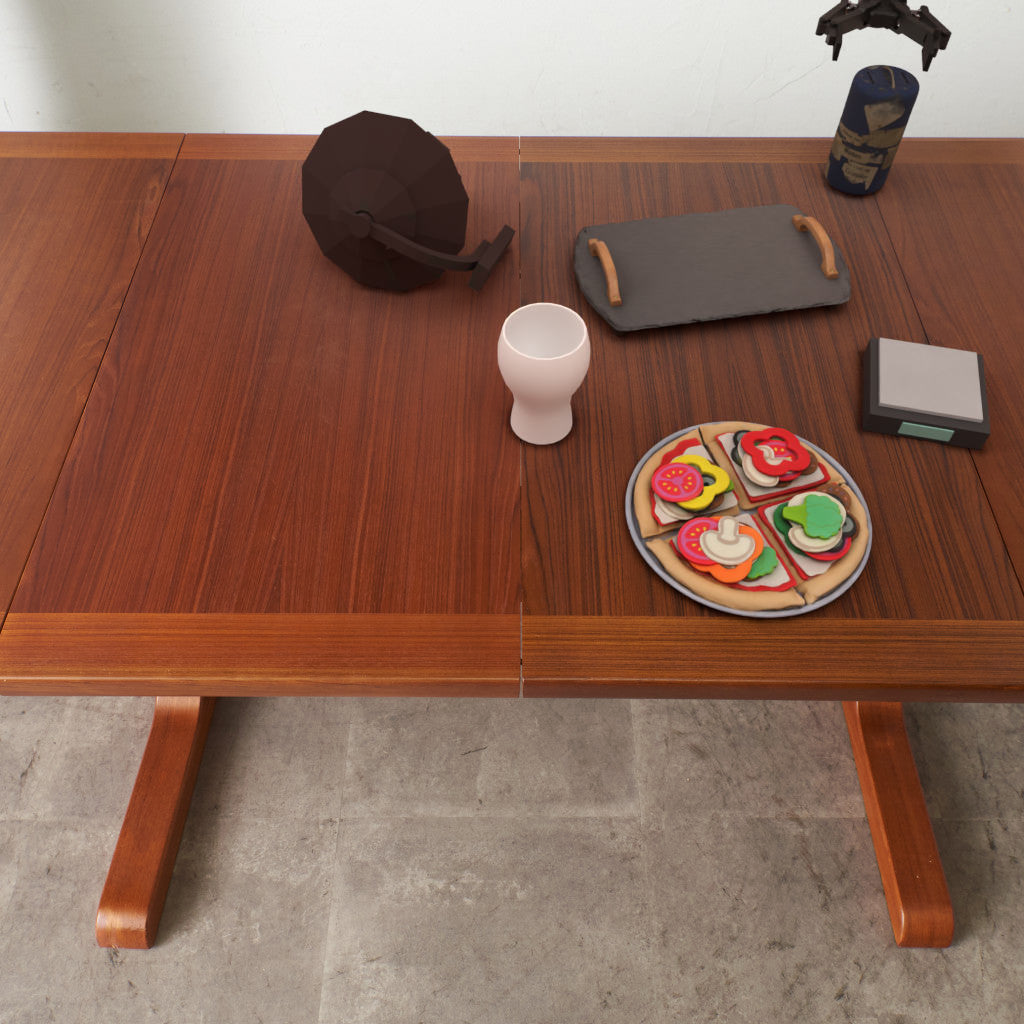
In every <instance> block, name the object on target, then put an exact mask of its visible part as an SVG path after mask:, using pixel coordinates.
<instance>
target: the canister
mask: <svg viewBox="0 0 1024 1024" xmlns="http://www.w3.org/2000/svg"><path fill="white" fill-rule="evenodd" d="M919 92H920V83H919V80H918V78H917V77H916V76H915V75H914V74H913V73H911V72H910V71H908V70H906V69H903V68H901V67H897V66H894V65H887V64H873V65H867V66H865V67H863V68H861V69H860V70H858V71H857V72H856V73H855V75H854V76H853V78H852V80H851V84H850V87H849V90H848V94H847V97H846V100H845V103H844V107H843V109H842V112H841V116H840V119H839V122H838V125H837V128H836V131H835V134H834V136H833V140H832V143H831V147H830V151H829V154H828V157H827V161H826V165H825V168H824V178H825V180H826V182H828V184H829V185H830V187H832V188H834V189H835V190H837V191H839V192H842V193H845V194H848V195H854V196H865V195H866V196H867V195H871V194H874V193H876V192H878V191H880V189H882V187H883V186H884V185H885V184H886V180H887V179H888V176H889V174H890V170H891V169H892V166H893V162H894V159H895V157H896V155H897V152H898V149H899V146H900V144H901V141H902V140H903V136H904V134H905V131H906V128H907V126H908V123H909V120H910V117H911V115H912V112H913V110H914V107H915V104H916V102H917V99H918V96H919Z"/></svg>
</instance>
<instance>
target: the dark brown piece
mask: <svg viewBox="0 0 1024 1024" xmlns="http://www.w3.org/2000/svg"><path fill="white" fill-rule="evenodd" d="M469 205H470V198H469V195H468V193H467V190H466V188H465V185H464V183H463V181H462V175H461V174H460V173H459V170H458V169H457V166H456V164H455V161H454V158H453V156H452V153H451V149H450V148H449V147H448V146H446V144H445V143H443V142H442V141H441V140H440V139H439V138H437V137H436V136H435V135H434V134H433V133H431V131H429V130H427V131H426V130H425V129H424V128H423V127H421V126H420V125H419V124H418V123H416V122H415V121H414V120H413V119H412V118H407V117H402V116H397V115H391V114H387V113H382V112H376V111H371V110H366V109H364V110H362V111H359V112H357V113H355V114H353V115H350V116H348V117H346V118H344V119H341V120H340V121H337V122H334V123H333V124H330V125H328V126H326V127H324V128H323V130H322V131H321V133H320V134H319V136H318V138H317V140H316V141H315V143H314V145H313V146H312V147H311V150H310V152H309V153H308V155H307V157H306V158H305V160H304V162H303V164H301V213H302V216H303V218H304V219H305V221H306V223H307V225H308V227H309V230H310V231H311V233H312V235H313V237H314V239H315V241H316V243H317V246H318V247H319V249H320V251H321V253H322V256H323V257H325V258H327V259H328V260H329V261H330V262H332V263H333V264H334V265H335V266H337V267H338V268H339V269H340V270H341V271H343V272H344V273H345V274H347V275H348V276H349V277H350V278H351V279H353V280H354V281H355V282H357V283H358V284H359V285H360V284H361V285H365V286H369V287H374V288H379V289H383V290H388V291H394V292H398V293H403V292H405V291H408V290H411V289H414V288H417V287H420V286H422V285H426V284H428V283H431V282H434V281H437V280H440V279H441V277H442V276H443V274H444V273H445V272H446V271H449V272H451V271H452V272H459V273H460V272H461V273H463V272H466V273H467V272H471V271H473V272H472V274H471V276H470V277H469V278H470V279H469V280H468V283H467V285H466V286H467V287H468V288H471V289H472V290H473V291H475V292H476V293H477V294H479V293H480V292H481V290H482V289H483V287H484V286H485V284H486V283H487V281H488V279H489V278H490V277H491V275H492V274H493V272H494V271H495V270H496V267H497V266H498V265H499V264H500V262H501V260H502V259H503V257H504V256H505V254H506V253H507V251H508V250H509V249H508V248H509V246H510V245H511V242H512V241H513V238H514V236H515V234H516V232H517V231H516V230H515V229H514V228H512V227H510V226H509V225H508V224H506V223H505V224H504V226H503V227H502V228H501V230H500V231H499V232H498V234H497V235H496V237H495V238H494V239H493V240H492V242H490V241H488V240H486V239H484V238H483V240H481V242H480V244H479V245H478V246H477V247H476V249H475V250H474V251H473V252H472V253H470V254H466V255H459V254H460V252H461V251H462V250H463V248H464V247H465V244H466V236H467V235H466V233H467V225H468V215H469V214H468V213H469Z"/></svg>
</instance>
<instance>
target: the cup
mask: <svg viewBox="0 0 1024 1024" xmlns="http://www.w3.org/2000/svg"><path fill="white" fill-rule="evenodd" d="M590 359H591V342H590V336H589V331H588V328H587V326H586V323H585V321H584V319H583V318H582V317H581V316H580V315H579V313H577V312H576V311H574V310H573V309H571V308H569V307H566V306H564V305H562V304H558V303H552V302H536V303H530V304H529V303H528V304H527V305H524V306H521V307H519V308H517V309H515V310H514V311H513V312H511V313H510V314H509V315H508V317H506V318H505V321H504V322H503V325H502V328H501V329H500V334H499V337H498V341H497V365H498V368H499V371H500V375H501V376H502V379H503V381H504V384H505V385H506V386H507V388H508V389H509V390H510V392H511V393H512V396H513V404H512V409H511V415H510V426H511V429H512V431H513V433H514V434H515V435H516V436H517V437H518V438H520V439H521V440H522V441H524V442H527V443H530V444H533V445H550V444H554V443H557V442H559V441H561V440H563V439H564V438H565V437H567V435H568V434H569V433H570V432H571V430H572V427H573V413H572V412H573V411H572V406H571V401H572V396H573V395H574V394H575V393H576V392H577V390H578V389H579V387H580V386H581V385H582V383H583V381H584V379H585V377H586V375H587V373H588V370H589V366H590V362H591V360H590Z"/></svg>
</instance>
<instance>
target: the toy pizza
mask: <svg viewBox="0 0 1024 1024" xmlns="http://www.w3.org/2000/svg"><path fill="white" fill-rule="evenodd" d="M624 502H625V503H624V508H625V509H624V510H625V520H626V523H627V527H628V531H629V530H630V531H629V533H630V536H631V539H632V542H633V543H634V545H635V547H636V548H637V550H638V552H639V554H640V555H641V557H642V558H643V559H644V561H645V562H646V563H647V564H648V565H649V567H650V568H651V569H652V570H653V571H654V572H655V573H656V574H657V575H658V576H659V577H660V578H661V579H662V580H664V581H665V582H666V583H667V584H669V585H670V586H671V587H672V588H674V589H675V590H677V591H678V592H680V593H681V594H683V595H684V596H686V597H688V598H690V599H692V600H693V601H695V602H698V603H700V604H702V605H703V606H707V607H709V608H712V609H714V610H718V611H721V612H724V613H728V614H731V615H736V616H743V617H750V618H764V619H765V618H769V619H770V618H771V619H773V618H785V617H793V616H798V615H801V614H805V613H808V612H812V611H814V610H817V609H819V608H821V607H824V606H825V605H828V604H829V603H832V602H833V601H835V600H836V599H838V598H839V597H841V596H842V595H843V594H844V593H845V592H846V591H848V590H849V588H850V587H852V585H853V584H854V583H855V582H856V581H857V579H858V578H859V576H861V574H862V571H863V570H864V569H865V566H866V564H867V562H868V559H869V557H870V554H871V553H870V552H871V549H872V542H873V540H872V539H873V524H872V520H871V519H872V518H871V514H870V511H869V508H868V504H867V502H866V500H865V497H864V496H863V493H862V491H861V490H860V488H859V487H858V485H857V483H856V482H855V481H854V479H853V478H852V477H851V475H850V474H849V472H847V470H846V469H845V468H844V467H843V466H842V465H841V463H839V462H838V461H837V460H836V459H835V458H833V457H832V456H831V455H830V454H828V453H827V452H826V451H824V449H821V448H820V447H818V446H817V445H815V444H814V443H812V442H810V441H808V440H807V439H805V438H803V437H802V436H799V435H797V434H794V433H793V432H791V431H789V430H787V429H784V428H781V427H774V426H769V425H765V424H760V423H755V422H746V421H731V420H730V421H729V420H728V421H713V422H705V423H701V424H697V425H692V426H689V427H686V428H682V429H681V430H678V431H676V432H674V433H672V434H670V435H668V436H665V438H663V439H661V440H660V441H658V442H657V443H656V444H655V445H654V446H652V447H651V448H650V449H649V450H648V451H647V452H645V454H644V455H643V456H642V458H641V459H640V460H639V461H638V463H637V464H636V466H635V467H634V469H633V471H632V473H631V475H630V478H629V480H628V483H627V488H626V491H625V501H624ZM631 507H632V508H631Z"/></svg>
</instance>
